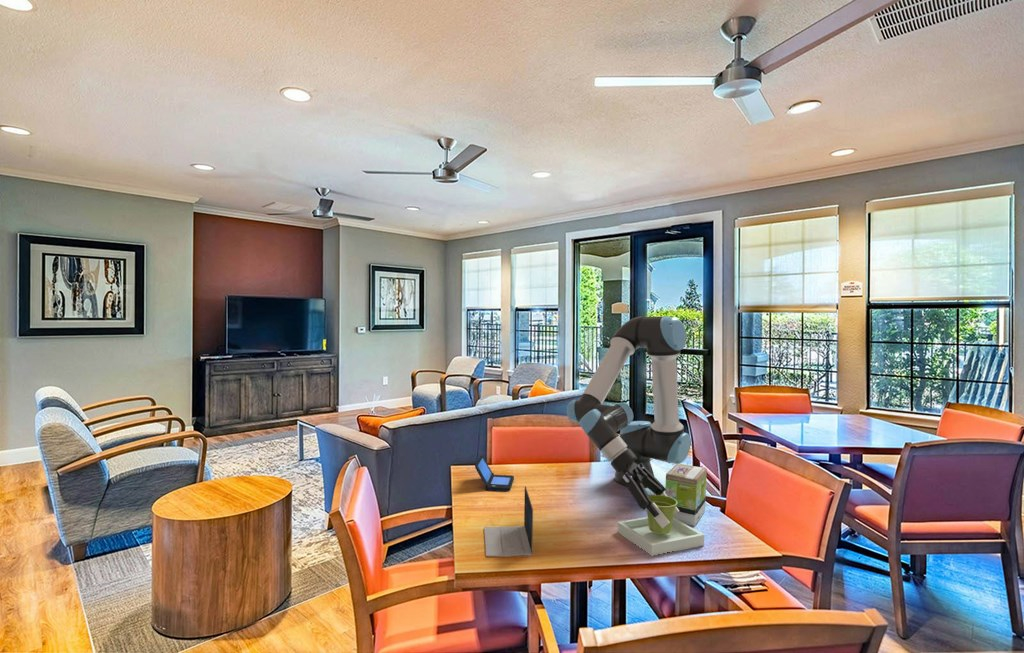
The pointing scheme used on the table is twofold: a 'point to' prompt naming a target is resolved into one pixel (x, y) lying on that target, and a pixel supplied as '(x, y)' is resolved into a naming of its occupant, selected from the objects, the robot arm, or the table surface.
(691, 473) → the tea box
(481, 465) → the handheld game console
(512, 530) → the laptop
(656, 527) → the plant pot
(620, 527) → the sage tray
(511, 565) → the table surface
